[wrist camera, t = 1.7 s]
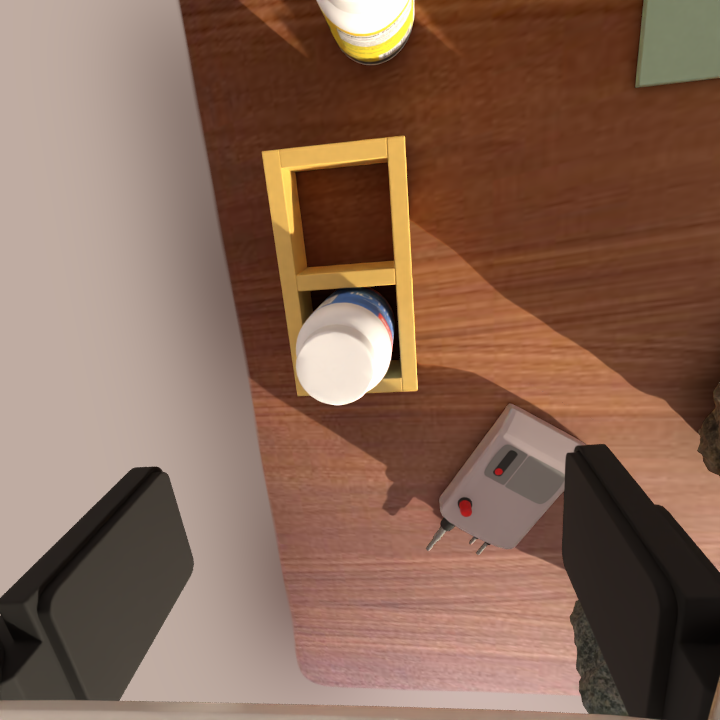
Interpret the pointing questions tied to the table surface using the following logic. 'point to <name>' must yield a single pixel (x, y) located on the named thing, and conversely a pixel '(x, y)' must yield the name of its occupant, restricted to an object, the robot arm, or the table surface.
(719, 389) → the mineral specimen
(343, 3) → the supplement bottle
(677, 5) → the mat
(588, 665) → the rock
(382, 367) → the pill bottle
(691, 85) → the table surface
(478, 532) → the grey electronic device
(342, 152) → the bottle holder
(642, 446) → the table surface
